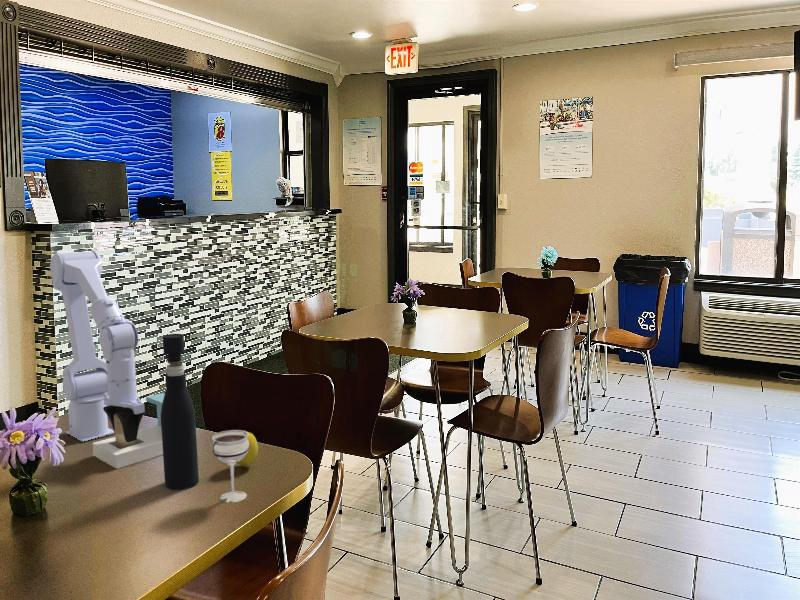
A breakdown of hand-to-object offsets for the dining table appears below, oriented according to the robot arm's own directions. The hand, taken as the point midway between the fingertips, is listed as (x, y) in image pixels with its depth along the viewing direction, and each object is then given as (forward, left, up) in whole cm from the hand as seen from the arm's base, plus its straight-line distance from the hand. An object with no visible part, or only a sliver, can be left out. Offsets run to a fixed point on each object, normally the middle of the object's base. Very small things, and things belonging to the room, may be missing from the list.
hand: (126, 438), depth 146 cm
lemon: (+25, +13, -4) cm, 29 cm away
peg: (0, 0, -2) cm, 2 cm away
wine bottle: (+22, 0, -4) cm, 23 cm away
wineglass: (+35, +3, -4) cm, 36 cm away
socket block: (0, +4, -4) cm, 5 cm away
